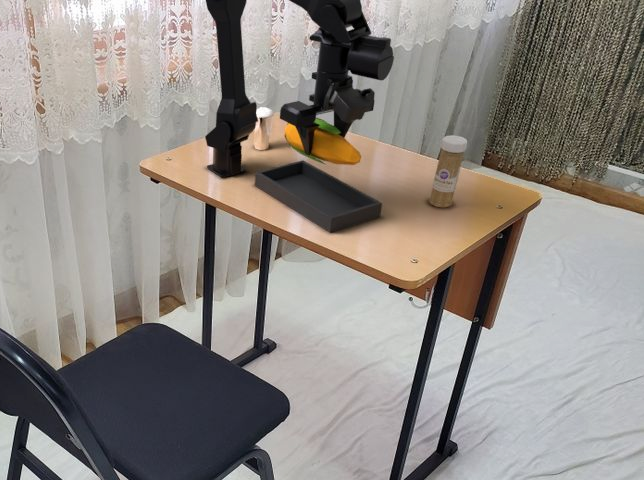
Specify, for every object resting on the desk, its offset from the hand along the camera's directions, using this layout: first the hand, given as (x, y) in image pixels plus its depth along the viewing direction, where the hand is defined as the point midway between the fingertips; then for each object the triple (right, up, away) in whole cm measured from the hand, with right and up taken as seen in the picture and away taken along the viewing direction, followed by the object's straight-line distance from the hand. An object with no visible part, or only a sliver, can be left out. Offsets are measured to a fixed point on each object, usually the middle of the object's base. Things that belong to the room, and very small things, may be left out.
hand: (322, 151), depth 144 cm
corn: (0, -2, +1) cm, 2 cm away
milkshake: (-9, +8, +29) cm, 31 cm away
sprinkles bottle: (+25, -10, +5) cm, 27 cm away
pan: (0, -9, +6) cm, 10 cm away
